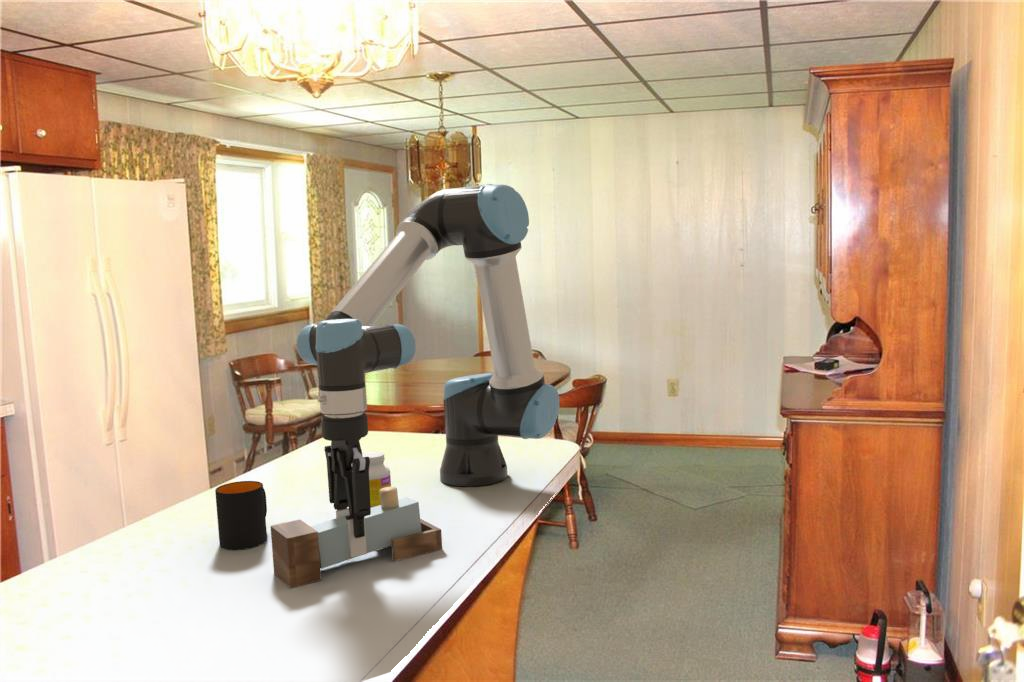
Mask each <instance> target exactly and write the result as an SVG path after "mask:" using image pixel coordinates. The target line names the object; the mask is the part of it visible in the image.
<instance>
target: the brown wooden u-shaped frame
mask: <svg viewBox="0 0 1024 682" xmlns="http://www.w3.org/2000/svg"><path fill="white" fill-rule="evenodd" d="M420 521H421V531H422V532H420V533H416V534H411V535H407V536H403V537H399V538H395V539H391V543H392V545H391V556H392V560H393V561H394V562H398V561H402V560H404V559H410V558H412V557H416V556H420V555H425V554H428V553H433V552H436V551H440V550H443V538H442V537H443V536H442V535H443V534H442V529H441V528H439V527H437V526H435V525H434V524H432V523H429V522H427V521H426V520H424V519H422V518H420ZM387 548H390V546H388V547H387ZM384 549H386V547H385V548H384ZM401 559H402V560H401ZM397 560H398V561H397Z"/></svg>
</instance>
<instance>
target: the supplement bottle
mask: <svg viewBox="0 0 1024 682" xmlns="http://www.w3.org/2000/svg"><path fill="white" fill-rule="evenodd" d="M362 456H363V457H369V459H370V465H369V486H370V507H371V508H372V507H376V506H379V505H381V500H380V491H379V490H380V489H382V488H385V487H392V481H391V478H392V477H391V470H390V468H389V467H388V466H386V465H385V464H384V461H385V453H384V452H383V451H382V452H380V451H369V452H368V451H367V452H364V453H363V452H362Z"/></svg>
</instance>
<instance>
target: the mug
mask: <svg viewBox="0 0 1024 682" xmlns="http://www.w3.org/2000/svg"><path fill="white" fill-rule="evenodd" d="M214 491H215V505H216V516H217V517H216V518H217V527H218V528H217V529H218V540H219V547H220V548H221V549H223V550H226V551H243V550H245V551H246V550H249V549H250V550H251V549H254V548H258V547H259V546H262V545H263V544H265V543H266V542H267V540H268V532H267V522H266V521H267V520H266V516H267V515H268V514H267V512H268V507H267V494H266V490H265V488H264V484H263V483H262V482H261V481H257V480H256V481H255V480H242V481H234V482H233V481H232V482H228V483H225V484H223V485H220V486H217V487H216V488H215V490H214Z"/></svg>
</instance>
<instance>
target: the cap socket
mask: <svg viewBox="0 0 1024 682" xmlns="http://www.w3.org/2000/svg"><path fill="white" fill-rule="evenodd" d="M310 526H311V525H309V524H307V523H306V522H304V521H303V520H302V519H296V520H291V521H287V522H283V523H278V524H272V525H270V537H271V548H272V549H271V550H272V552H271V553H272V564H273V565H272V566H273V574H274V575H275V576H277V577H278V578H279V579H280V580H281V581H282V582H283V583H284V584H285V585H287V587H289V589H292V588H296V587H300V586H305V585H307V584H312V583H316V582H319V581H322V574H321V573H322V572H321V568H320V556H319V542H318V531H316V530H315V529H313V528H312V527H310Z"/></svg>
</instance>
